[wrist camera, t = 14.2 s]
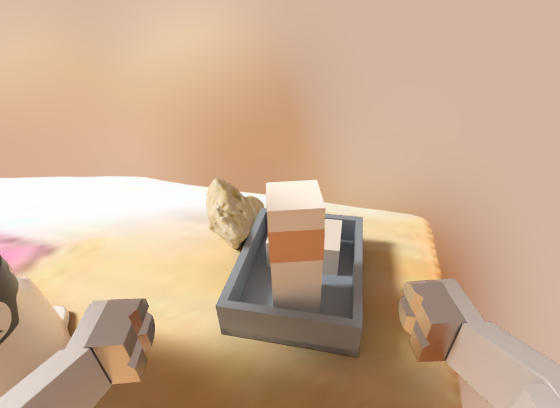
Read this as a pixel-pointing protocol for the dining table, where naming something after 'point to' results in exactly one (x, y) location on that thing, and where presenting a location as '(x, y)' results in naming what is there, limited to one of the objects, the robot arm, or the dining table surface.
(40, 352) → the robot arm
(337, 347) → the tote
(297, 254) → the juice carton
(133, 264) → the dining table surface
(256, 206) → the beige rock
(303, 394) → the dining table surface
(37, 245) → the dining table surface
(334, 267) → the white rectangular block
